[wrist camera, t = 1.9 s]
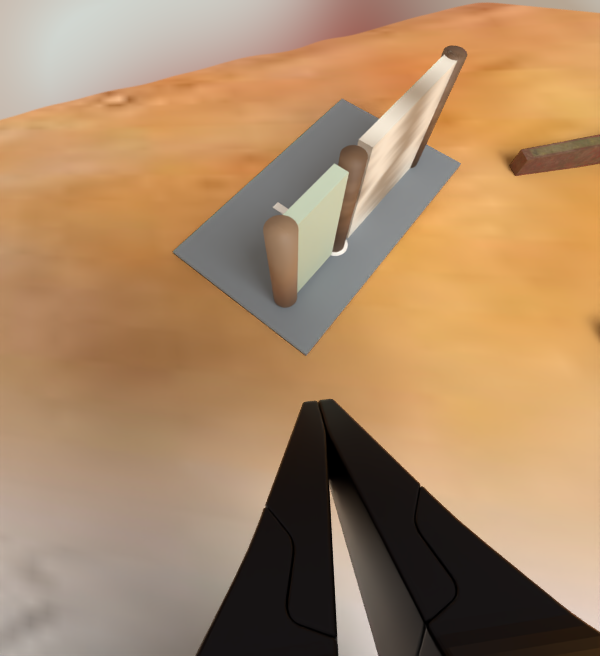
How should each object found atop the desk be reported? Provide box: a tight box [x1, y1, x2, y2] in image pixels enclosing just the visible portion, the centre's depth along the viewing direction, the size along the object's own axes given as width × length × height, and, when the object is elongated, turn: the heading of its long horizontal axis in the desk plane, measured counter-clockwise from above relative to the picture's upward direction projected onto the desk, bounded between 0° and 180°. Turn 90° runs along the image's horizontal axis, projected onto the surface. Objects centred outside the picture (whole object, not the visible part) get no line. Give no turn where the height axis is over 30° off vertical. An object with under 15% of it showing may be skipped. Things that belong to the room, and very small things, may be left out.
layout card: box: [173, 99, 461, 356], centre depth 26 cm, size 24×14×1 cm, turn 142°
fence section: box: [332, 46, 467, 252], centre depth 22 cm, size 14×2×8 cm, turn 142°
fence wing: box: [263, 164, 349, 308], centre depth 19 cm, size 6×2×8 cm, turn 142°
